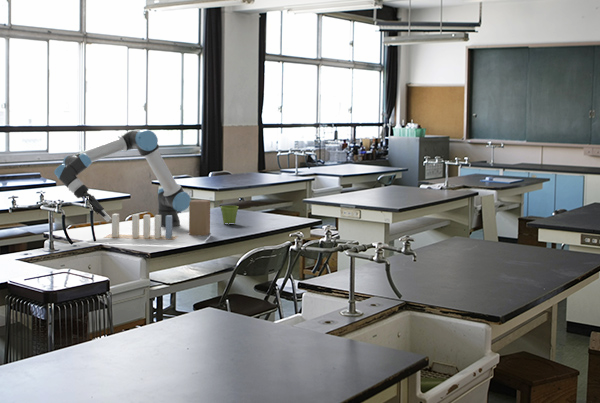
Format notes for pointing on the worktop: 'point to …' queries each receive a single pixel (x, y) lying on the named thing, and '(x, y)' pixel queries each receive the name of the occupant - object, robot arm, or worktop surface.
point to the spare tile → (115, 225)
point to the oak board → (140, 237)
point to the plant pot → (229, 213)
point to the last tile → (168, 226)
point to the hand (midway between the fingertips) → (109, 220)
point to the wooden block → (199, 217)
